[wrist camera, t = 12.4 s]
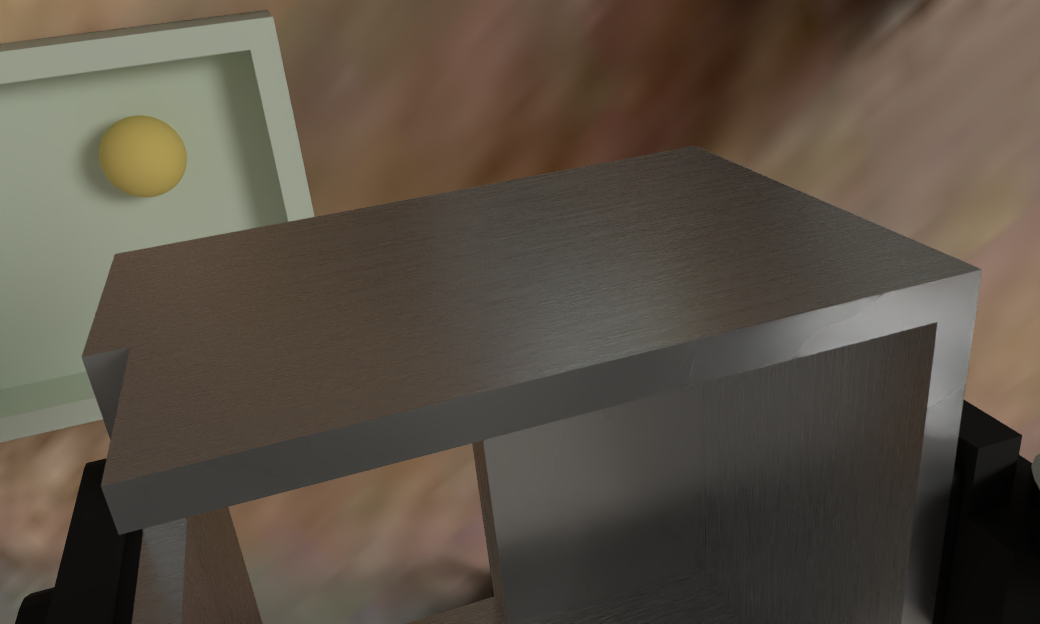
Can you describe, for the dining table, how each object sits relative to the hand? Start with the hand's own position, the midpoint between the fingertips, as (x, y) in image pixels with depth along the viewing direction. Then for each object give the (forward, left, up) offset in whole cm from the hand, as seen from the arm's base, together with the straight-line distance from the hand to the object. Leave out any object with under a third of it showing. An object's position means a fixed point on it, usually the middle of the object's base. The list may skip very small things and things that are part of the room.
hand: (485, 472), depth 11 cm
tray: (+3, -8, -28) cm, 29 cm away
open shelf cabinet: (0, 0, -1) cm, 1 cm away
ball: (+1, -5, -25) cm, 25 cm away
